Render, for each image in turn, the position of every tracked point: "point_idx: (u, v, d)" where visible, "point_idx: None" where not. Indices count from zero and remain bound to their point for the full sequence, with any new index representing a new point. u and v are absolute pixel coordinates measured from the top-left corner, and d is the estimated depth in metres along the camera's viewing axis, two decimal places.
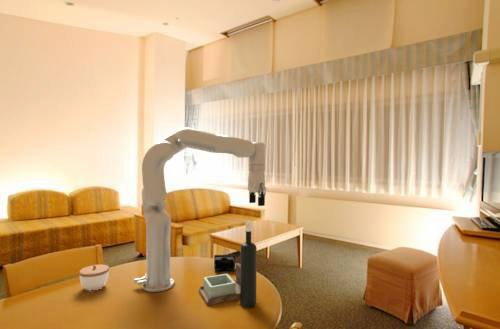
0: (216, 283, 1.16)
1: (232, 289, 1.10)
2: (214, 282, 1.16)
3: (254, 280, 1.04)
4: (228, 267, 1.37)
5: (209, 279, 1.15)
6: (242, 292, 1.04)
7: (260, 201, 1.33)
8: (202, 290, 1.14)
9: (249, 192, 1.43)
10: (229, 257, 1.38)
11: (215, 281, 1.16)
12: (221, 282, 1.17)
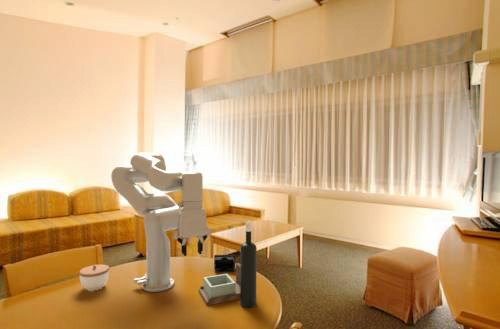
0: (216, 283, 1.16)
1: (232, 289, 1.10)
2: (214, 282, 1.16)
3: (254, 280, 1.04)
4: (228, 267, 1.37)
5: (209, 279, 1.15)
6: (242, 292, 1.04)
7: (201, 248, 1.09)
8: (202, 290, 1.14)
9: (183, 242, 1.05)
10: (229, 257, 1.38)
11: (215, 281, 1.16)
12: (221, 282, 1.17)
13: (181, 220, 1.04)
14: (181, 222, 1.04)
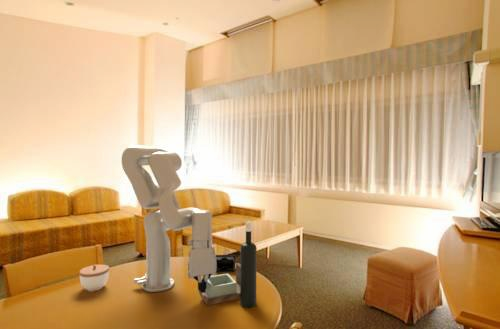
0: (217, 283, 1.17)
1: (233, 289, 1.10)
2: (215, 282, 1.16)
3: (254, 280, 1.04)
4: (228, 267, 1.37)
5: (210, 279, 1.15)
6: (242, 292, 1.04)
7: (205, 286, 1.09)
8: None
9: (199, 280, 1.08)
10: (229, 257, 1.38)
11: (216, 281, 1.16)
12: (222, 282, 1.17)
13: (191, 259, 1.06)
14: (191, 261, 1.06)
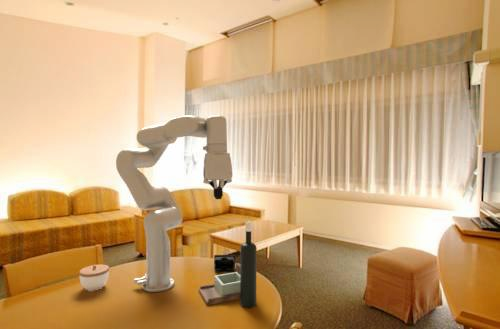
0: (226, 281, 1.18)
1: None
2: (225, 280, 1.18)
3: (254, 280, 1.04)
4: (228, 267, 1.37)
5: (220, 277, 1.17)
6: (242, 292, 1.04)
7: (221, 193, 1.08)
8: (202, 290, 1.14)
9: (215, 186, 1.06)
10: (229, 257, 1.38)
11: (225, 279, 1.18)
12: (231, 280, 1.19)
13: (207, 162, 1.04)
14: (207, 164, 1.04)
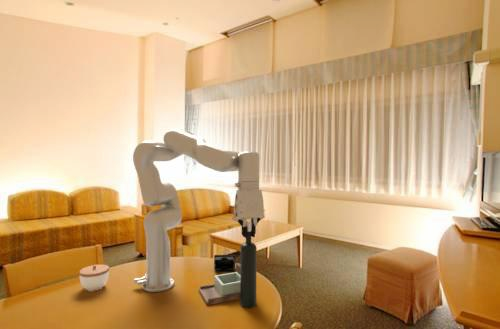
0: (226, 281, 1.18)
1: None
2: (225, 280, 1.18)
3: (254, 280, 1.04)
4: (228, 267, 1.37)
5: (220, 277, 1.17)
6: (242, 292, 1.04)
7: (254, 230, 1.05)
8: (202, 290, 1.14)
9: (243, 224, 1.03)
10: (229, 257, 1.38)
11: (225, 279, 1.18)
12: (231, 280, 1.19)
13: (239, 200, 1.01)
14: (239, 202, 1.01)
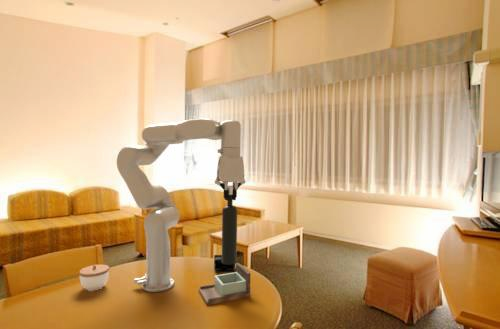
0: (226, 281, 1.18)
1: (243, 287, 1.11)
2: (225, 280, 1.18)
3: (234, 239, 1.12)
4: (228, 267, 1.37)
5: (220, 277, 1.17)
6: (223, 250, 1.12)
7: (235, 194, 1.14)
8: (202, 290, 1.14)
9: (225, 187, 1.11)
10: None
11: (225, 279, 1.18)
12: (231, 280, 1.19)
13: (221, 165, 1.09)
14: (221, 167, 1.09)
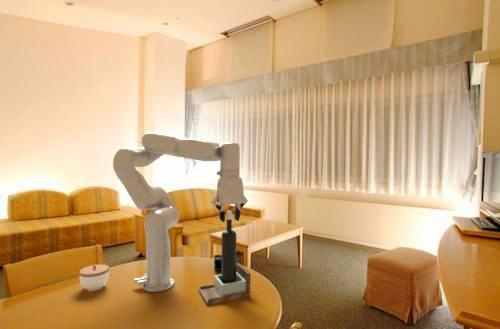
0: None
1: (243, 287, 1.11)
2: None
3: (234, 264, 1.12)
4: None
5: (220, 277, 1.17)
6: (223, 275, 1.12)
7: (238, 215, 1.15)
8: (202, 290, 1.14)
9: (221, 208, 1.11)
10: None
11: None
12: None
13: (221, 187, 1.10)
14: (221, 189, 1.10)
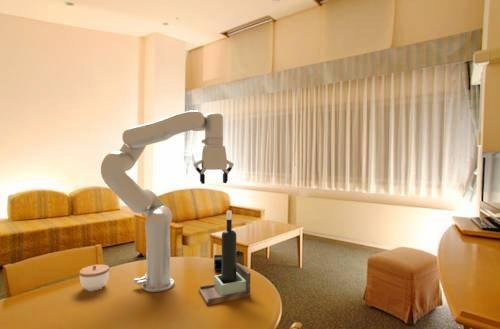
0: None
1: (243, 287, 1.11)
2: None
3: (234, 264, 1.12)
4: None
5: (220, 277, 1.17)
6: (223, 275, 1.12)
7: (226, 178, 1.25)
8: (202, 290, 1.14)
9: (202, 171, 1.20)
10: None
11: None
12: None
13: (205, 154, 1.19)
14: (205, 155, 1.19)
